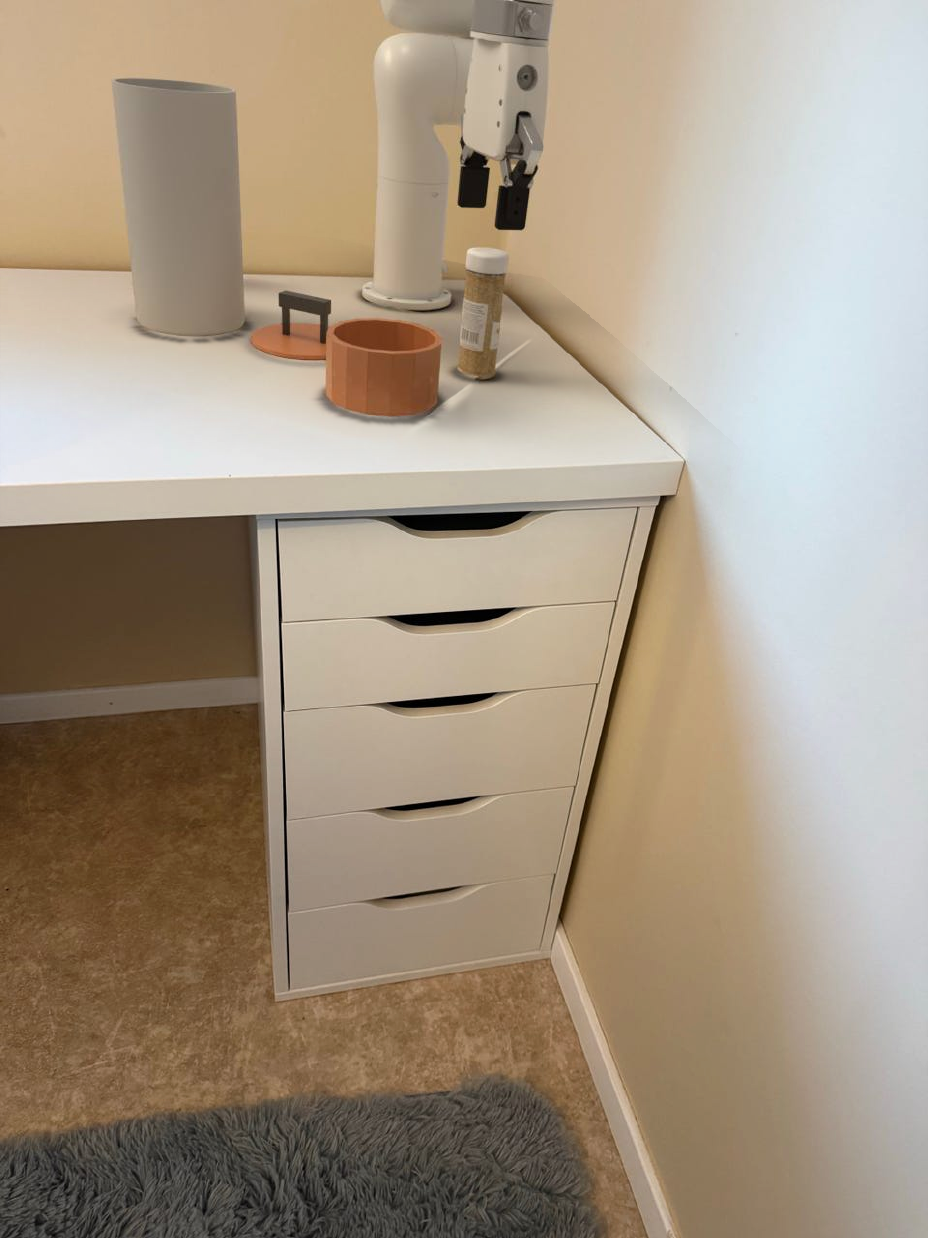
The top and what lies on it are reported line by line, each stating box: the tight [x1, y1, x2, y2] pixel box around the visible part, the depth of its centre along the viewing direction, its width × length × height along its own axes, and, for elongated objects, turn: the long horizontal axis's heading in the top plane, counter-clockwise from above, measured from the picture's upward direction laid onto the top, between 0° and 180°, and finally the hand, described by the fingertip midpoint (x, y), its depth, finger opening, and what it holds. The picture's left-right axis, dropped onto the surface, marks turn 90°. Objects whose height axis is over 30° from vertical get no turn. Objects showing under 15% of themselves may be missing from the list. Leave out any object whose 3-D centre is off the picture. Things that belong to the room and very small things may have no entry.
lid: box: [250, 290, 332, 361], centre depth 104 cm, size 12×12×6 cm
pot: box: [325, 317, 443, 417], centre depth 92 cm, size 11×11×7 cm
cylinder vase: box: [111, 77, 246, 337], centre depth 102 cm, size 12×12×25 cm
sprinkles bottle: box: [456, 246, 510, 381], centre depth 100 cm, size 5×5×13 cm
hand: (489, 217), depth 95 cm, fingers open, 9 cm apart
